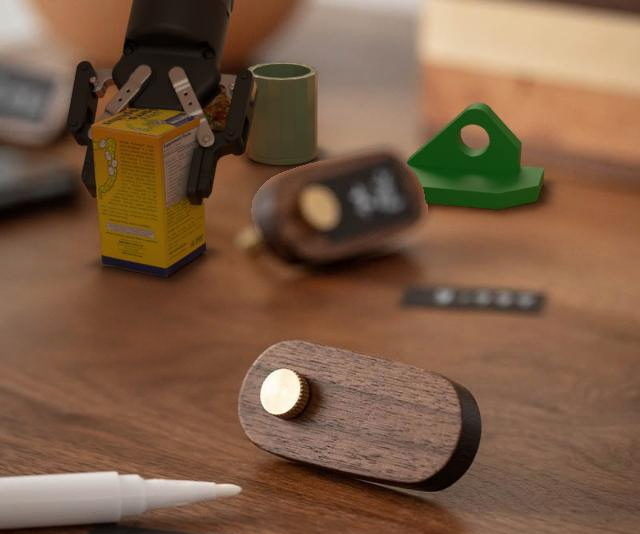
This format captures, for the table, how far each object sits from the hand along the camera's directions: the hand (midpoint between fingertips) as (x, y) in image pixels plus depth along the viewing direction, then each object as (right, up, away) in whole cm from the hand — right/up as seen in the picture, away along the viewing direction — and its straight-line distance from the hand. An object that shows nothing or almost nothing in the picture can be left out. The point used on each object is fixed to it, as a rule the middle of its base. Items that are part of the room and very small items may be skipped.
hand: (144, 196), depth 95 cm
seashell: (+2, +11, +38) cm, 39 cm away
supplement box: (0, -4, +4) cm, 6 cm away
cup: (+9, +7, +27) cm, 29 cm away
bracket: (+26, +2, +18) cm, 31 cm away
